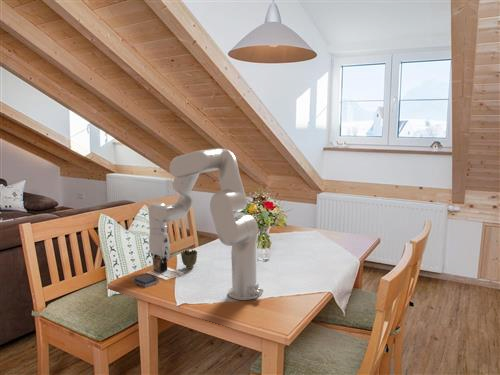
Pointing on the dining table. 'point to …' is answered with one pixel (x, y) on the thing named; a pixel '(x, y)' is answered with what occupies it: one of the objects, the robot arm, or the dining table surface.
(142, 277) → the ink pad
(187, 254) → the carved brown lampshade
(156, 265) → the stamp
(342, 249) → the dining table surface
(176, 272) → the sheet
